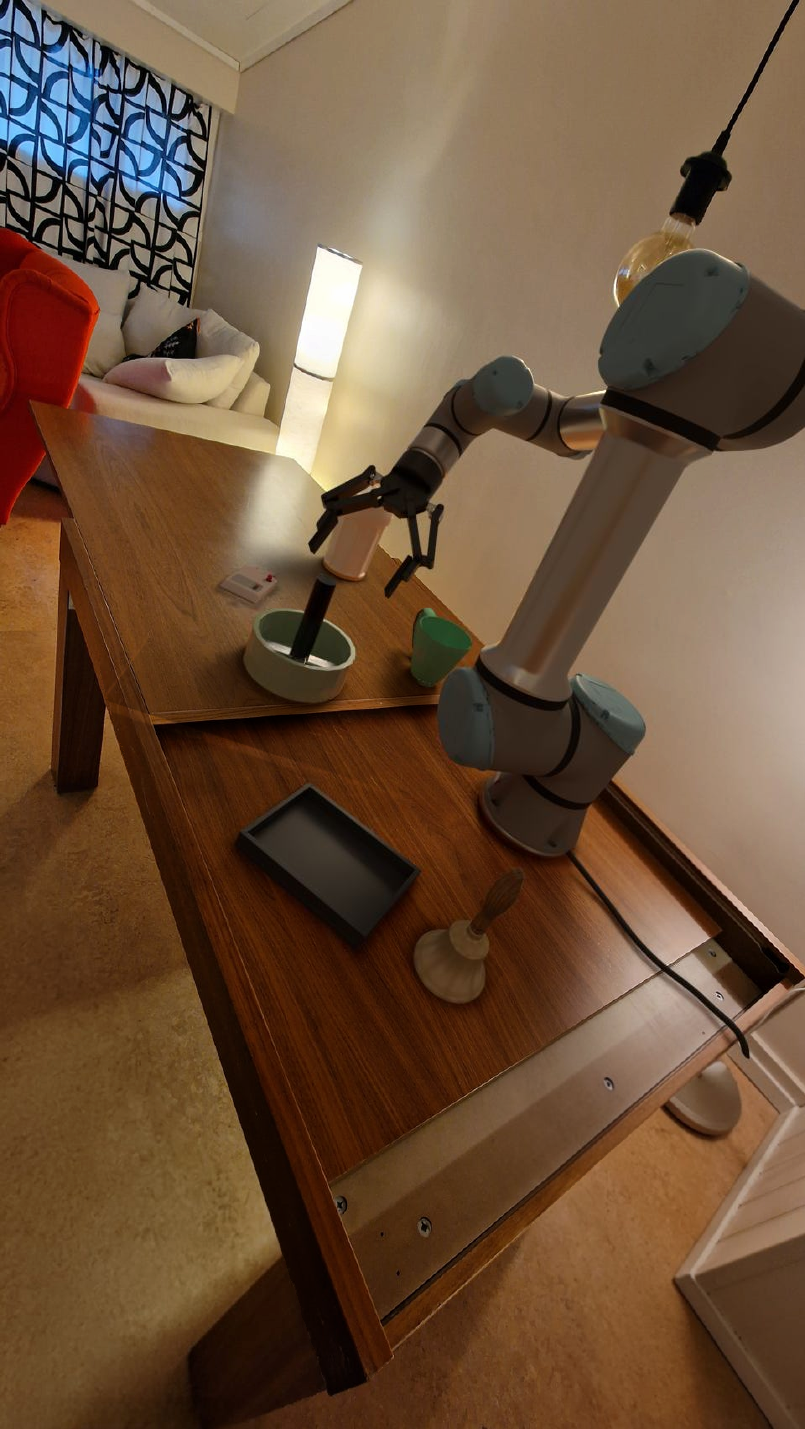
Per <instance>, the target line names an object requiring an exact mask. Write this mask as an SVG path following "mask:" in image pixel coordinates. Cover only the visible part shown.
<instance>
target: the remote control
mask: <svg viewBox="0 0 805 1429" xmlns="http://www.w3.org/2000/svg"><path fill="white" fill-rule="evenodd" d="M279 575H280V573H279V572H277V573H275V574H274V575H272V573H266V572H265V571H262V570H260V569H259V567H254V566H251V565H247V564H246V565H243V566H241V567H240V568H239V569H237V570H236V571H235V572H233V573H232V574H230V575H229V576H227V577H226V578H224V580H223V581H222V582H221V583H220V585H219V586H218V587H219V588H221V589H223V590H225V591H226V592H229V593H231V594H233V595H235V596H237V597H239V598H242V599H244V600H246V601H248V602H249V603H251V604H254V605H255V604H257V603H258V602H259V601H260V600H261V599H263V597H264V596H266V595H268V596H269V594H271V593H272V592H273V591H274V590H275V589H276V587H277V584H278V579H277V577H278V576H279Z"/></svg>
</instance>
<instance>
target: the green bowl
mask: <svg viewBox="0 0 805 1429" xmlns="http://www.w3.org/2000/svg"><path fill="white" fill-rule="evenodd" d="M304 611H305V610H302V609H296V608H290V607H274V608H269V609H266V610H263V611H261V612H259V614H257V616H255V617H254V619H253V623H252V625H251V629H250V633H249V636H248V639H247V642H246V647H245V650H244V654H243V657H242V661H243V665H244V667H245V670H246V671H247V673H248V675H249V676H250V677H251V678H252V679H253V681H255V682H256V683H257V684H259V686H261V687H262V688H264V689H265V690H267V691H269V692H271V693H272V694H275V695H276V696H279V697H281V698H284V699H287V700H290V701H295V702H299V703H309V704H311V703H312V704H316V703H317V704H318V703H323V702H327V701H330V700H333V699H334V698H336V697H337V696H338V695H339V694H340V693H341V691H342V690H343V688H344V686H345V683H346V681H347V679H348V676H349V673H351V672H350V671H351V670H352V667H353V664H354V662H355V660H356V647H355V646H354V643H353V641H352V639H351V638H350V637H349V636H348V634H346V633H345V632H344V631H343V630H342V629H341V628H340V627H338V626H337V625H335V624H334V623H333V622H331V621H329V620H327V619H325V618H324V620H323V623H322V625H321V628H320V631H319V633H318V636H317V639H316V642H315V644H314V647H313V650H312V652H311V656H314V657H317V658H320V659H323V660H325V661H328V662H331V663H334V664H335V666H334V667H326V668H325V667H316V666H313V665H311V666H309V665H306V664H302V663H299V662H296V661H294V660H292V659H290V658H288V657H285V656H284V655H282V654H280V653H279V652H277V651H276V650H275V649H273V648H272V647H270V646H269V645H268V644H267V642H266V641H265V640H269V641H272V642H275V643H278V644H280V645H283V646H286V647H289V648H292V645H293V642H294V639H295V637H296V634H297V631H298V628H299V625H300V622H301V619H302V616H303V614H304ZM295 699H296V700H295ZM325 699H329V700H325ZM300 700H301V701H300ZM321 700H324V701H321ZM310 701H318V702H310Z"/></svg>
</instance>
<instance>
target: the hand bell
mask: <svg viewBox="0 0 805 1429" xmlns="http://www.w3.org/2000/svg"><path fill="white" fill-rule="evenodd" d="M525 878H526V874H525V871H524V870H523V869H521V868H520V867H513V868H512V869H511V870H509V871H508V872H506V873H504V874H502V875H501V876H500V877H498V878H497V879H496V880H495V881H494V882H493V883H492V885H491V887H490V889H488V891H487V894H486V896H485V899H484V902H483V906H482V908H481V909H480V911H479V912H478V914H476V915H475V916H474V918H473V919H471V920H468V919H460V920H456V921H455V922H453V923H452V924H451V925H450V926H449V927H448V928H447V929H441V928H440V929H434V930H430V931H428V932H425V933H424V934H422V935H421V936H420V937H419V939H417V941H416V943H415V946H414V948H413V965H414V968H415V972H416V974H417V976H418V978H419V980H420V981H421V983H422V984H423V985H424V987H425V988H426V989H427V990H428V991H429V992H430V993H431V994H433V995H434V996H435V997H437V998H438V999H441V1000H443V1001H445V1002H448V1003H451V1004H458V1005H461V1004H467V1003H470V1002H472V1001H474V1000H476V999H477V998H478V997H479V996H480V995H481V993H482V992H483V990H484V987H485V985H486V984H485V983H486V968H485V963H484V960H485V959H486V956H487V955H488V953H489V950H490V940H489V937H488V935H487V934H486V932H487V931H488V929H489V928H490V926H491V924H492V923H493V922H494V921H495V919H496V918H498V917H499V916H501V915H502V914H504V913H506V912H507V911H508V910H509V909H510V908H512V906H513V905H514V904H515V903H516V901H517V900H518V898H519V897H520V894H521V891H522V887H523V883H524V880H525Z"/></svg>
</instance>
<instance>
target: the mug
mask: <svg viewBox="0 0 805 1429" xmlns="http://www.w3.org/2000/svg"><path fill="white" fill-rule="evenodd" d="M411 636H412V638H411V649H412V651H411V658H410V673H411V675H412V676H413V677H414V678H415V679H416V683H417V684H418V685H420V686H423V687H426V688H432V687H435V686H436V685H437V684H438V683H440V682H441V681H442V680H443V679H445V678H446V677H447V676H448V675H449V673H450V672H452V671H454V669H455V668H456V666H458V664H459V663H460V662H461V661H462V659H464V657H465V656H466V655H467V654H468V653H469V651H470V650H471V648H472V646H473V640H472V638H471V636H470V635H469V634H468V632H467V631H466V630H465V629H463V628H462V627H461V626H460V625H458V624H456V623H454V622H453V621H451V620H449V619H446V618H444V617H440V616H437V614H436V613H435V611H434V610H433V609H432V608H431V607H423V608H422V609H420V610H418V611H417V613H416V616H415V619H414V621H413V624H412V635H411ZM419 679H420V680H419ZM423 681H424V682H423ZM425 682H426V683H425ZM429 683H430V684H429ZM435 683H436V684H435Z"/></svg>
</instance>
